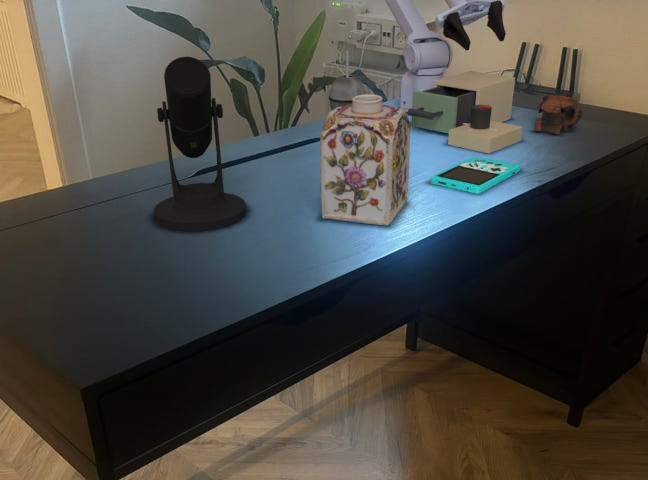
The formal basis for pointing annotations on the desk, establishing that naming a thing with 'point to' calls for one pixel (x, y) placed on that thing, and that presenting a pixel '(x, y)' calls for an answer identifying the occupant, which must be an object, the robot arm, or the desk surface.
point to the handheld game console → (475, 174)
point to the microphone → (194, 151)
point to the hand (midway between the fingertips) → (485, 41)
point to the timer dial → (480, 116)
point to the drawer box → (485, 91)
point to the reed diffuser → (345, 88)
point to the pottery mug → (558, 114)
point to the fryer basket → (442, 108)
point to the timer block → (485, 137)
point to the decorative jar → (364, 162)
